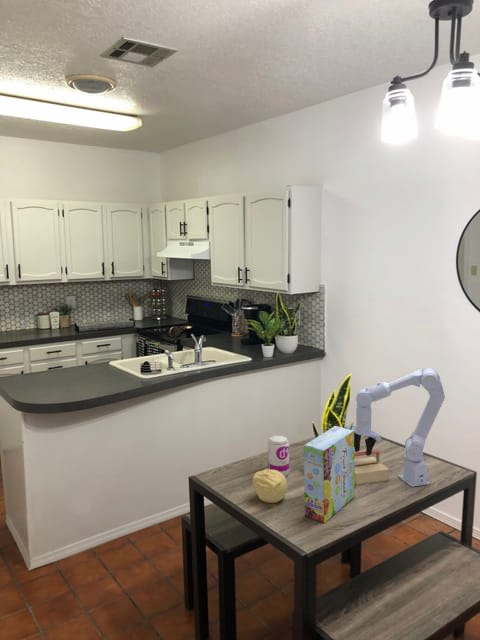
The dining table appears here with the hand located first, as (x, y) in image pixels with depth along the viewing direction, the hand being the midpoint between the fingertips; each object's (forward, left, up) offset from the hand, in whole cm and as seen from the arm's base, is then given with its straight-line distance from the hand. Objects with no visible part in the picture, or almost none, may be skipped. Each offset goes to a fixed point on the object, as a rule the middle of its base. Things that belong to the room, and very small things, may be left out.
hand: (363, 453), depth 201 cm
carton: (-2, 0, -9) cm, 9 cm away
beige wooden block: (+1, 0, -4) cm, 4 cm away
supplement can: (+9, +32, -9) cm, 34 cm away
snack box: (-19, +23, -9) cm, 31 cm away
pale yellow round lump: (-8, +41, -9) cm, 43 cm away
